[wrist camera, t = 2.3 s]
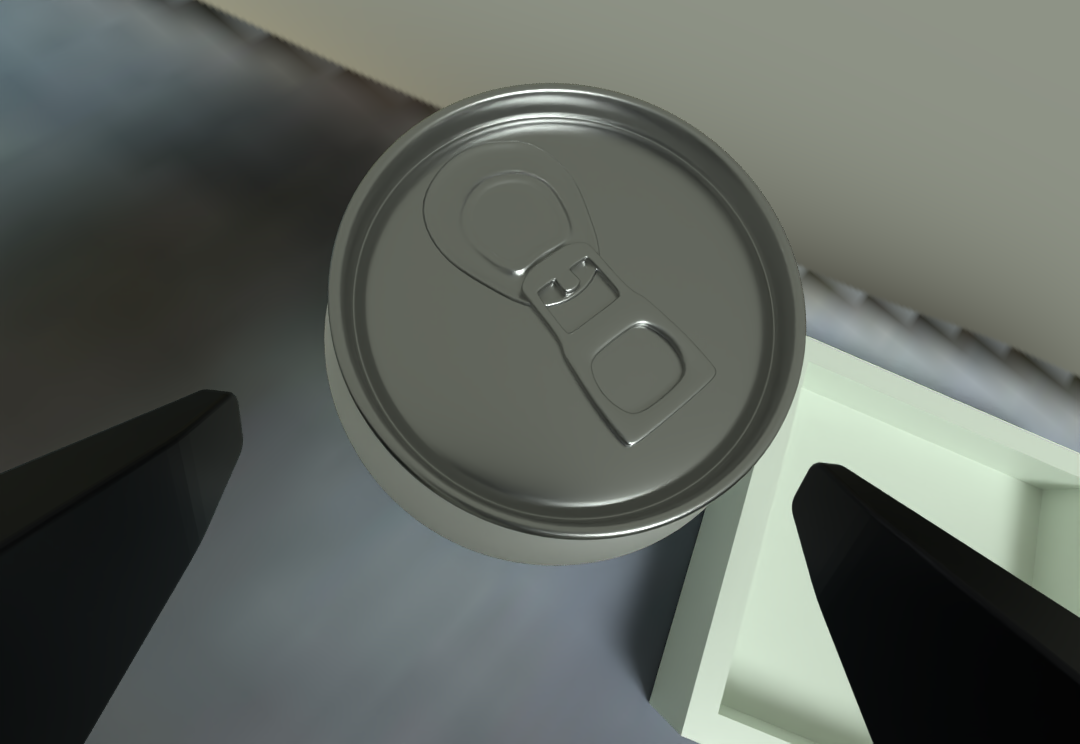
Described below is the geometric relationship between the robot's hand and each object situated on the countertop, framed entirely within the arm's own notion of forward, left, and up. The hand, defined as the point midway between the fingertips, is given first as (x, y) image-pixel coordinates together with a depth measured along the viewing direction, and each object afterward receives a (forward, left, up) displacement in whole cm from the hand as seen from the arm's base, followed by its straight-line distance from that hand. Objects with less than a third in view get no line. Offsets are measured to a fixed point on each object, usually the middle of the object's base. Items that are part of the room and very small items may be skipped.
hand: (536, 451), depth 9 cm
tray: (-7, -11, -9) cm, 16 cm away
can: (+1, -1, -9) cm, 10 cm away
